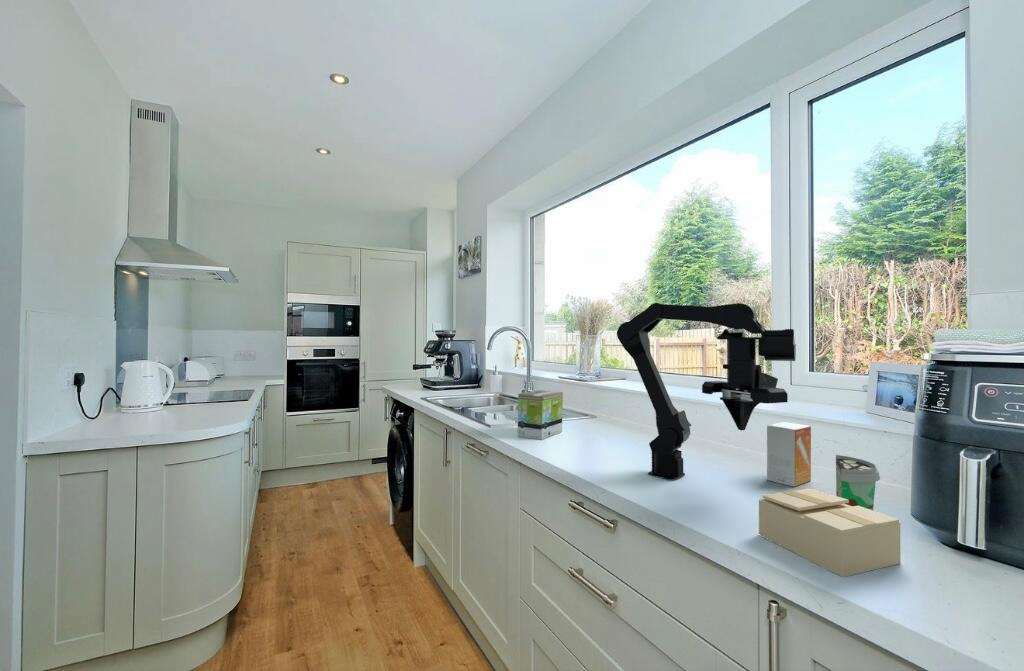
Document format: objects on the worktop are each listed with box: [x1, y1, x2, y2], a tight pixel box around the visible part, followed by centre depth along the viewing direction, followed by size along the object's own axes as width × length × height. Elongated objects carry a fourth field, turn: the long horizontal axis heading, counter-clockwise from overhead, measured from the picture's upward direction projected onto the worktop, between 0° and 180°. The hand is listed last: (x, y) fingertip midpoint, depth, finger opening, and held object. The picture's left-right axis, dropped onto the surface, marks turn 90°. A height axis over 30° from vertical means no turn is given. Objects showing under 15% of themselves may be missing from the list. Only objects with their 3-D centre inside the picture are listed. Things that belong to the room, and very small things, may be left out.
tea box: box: [517, 389, 564, 441], centre depth 155 cm, size 15×10×15 cm, turn 147°
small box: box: [766, 421, 812, 488], centre depth 104 cm, size 8×6×13 cm
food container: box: [835, 454, 881, 511], centre depth 83 cm, size 12×6×10 cm, turn 148°
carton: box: [758, 498, 902, 578], centre depth 71 cm, size 14×12×7 cm
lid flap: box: [761, 488, 849, 511], centre depth 74 cm, size 7×11×1 cm, turn 108°
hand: (741, 430), depth 99 cm, fingers closed
